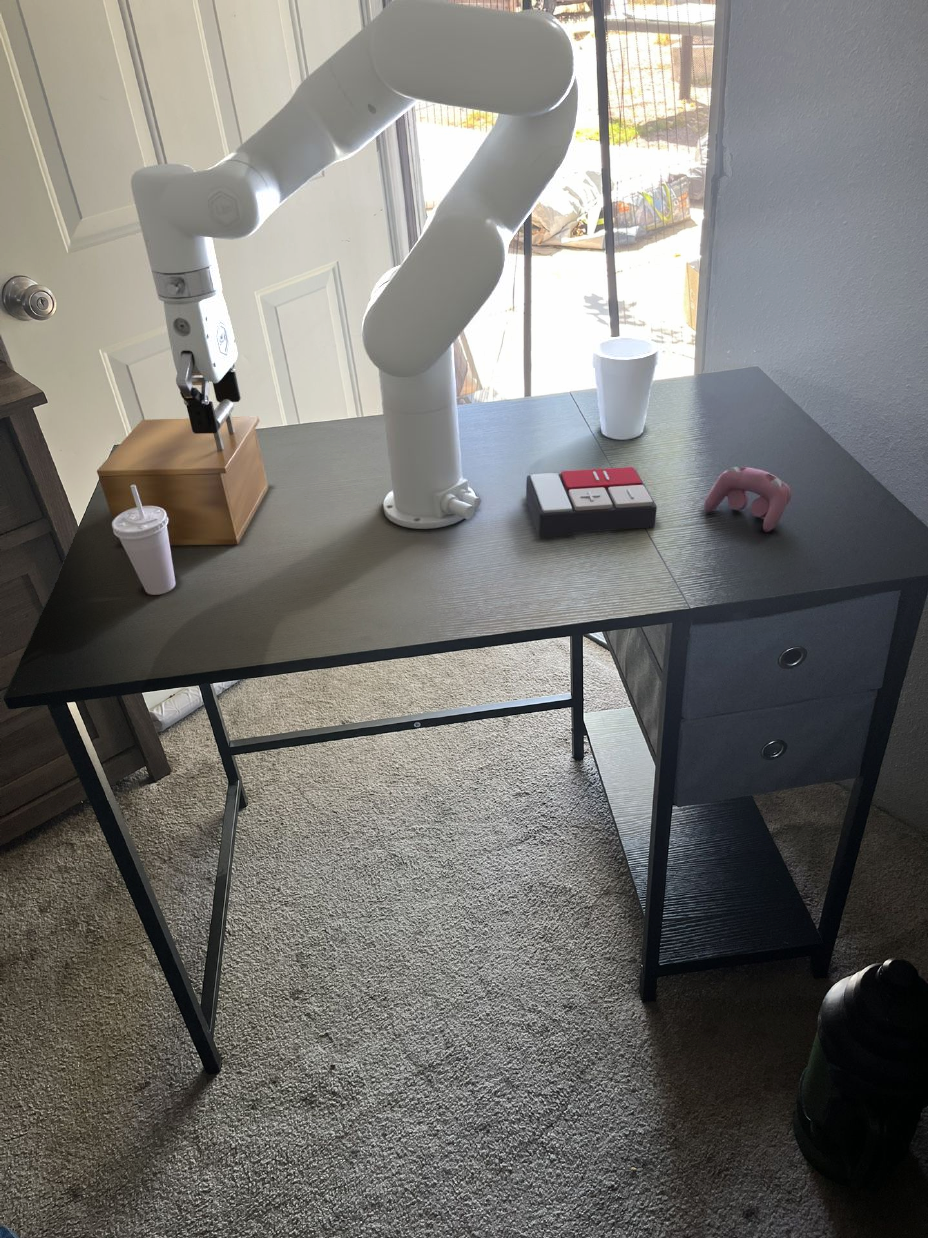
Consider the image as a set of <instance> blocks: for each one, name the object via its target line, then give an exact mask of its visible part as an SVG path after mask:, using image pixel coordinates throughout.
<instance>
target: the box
mask: <svg viewBox="0 0 928 1238" xmlns="http://www.w3.org/2000/svg"><path fill="white" fill-rule="evenodd" d="M98 480H99V482H100V485H101V488H102V491H103V494H104V495H103V496H104V498H105V500H106V504H107V507H108V510H109V512H110V515H111V518H112V521H113V520H114V519H115V518H116V517H117V516H118V515H119V514H121V513H123V512H125V511H127V510H129V509H132V508H136V507H137V506H136V502H135V499H134V496H133V493H132V490H131V485H135V486H136V489H137V492H138V495H139V499H140V502H141V505H142V506H156V507H160V508H162V509H164V510H165V512H166V514H167V517H168V524H167V530H168V537H169V544H170V546H212V545H213V546H217V545H220V546H221V545H239V543H240V541H241V539H242V538H243V536H244V534H245V532H246V530H247V528H248V526H249V525H250V523H251V521H252V519H253V517H254V516H255V514H256V512H257V510H258V508H259V506H260V504H261V503H262V501H263V499H264V497H265V495H266V494H267V491H268V489H269V485H268V480H267V475H266V471H265V465H264V463H263V457H262V453H261V447H260V444H259V438H258V435H257V430H256V428H255V429H254V431H253V432H252V434H251V436H250V437H249V439H248V440H247V442H246V443H245V445H244V447H243V448H242V450H241V451H240V453H239V454H238V456H237V458H236V459H235V461H234V462H233V464H232V465H231V467H230V469H229V470H228V472H227V473H225V474H178V475H131V476H98ZM118 540H119V542H120V545H121V546H122V547H123V545H122V543H121V541H120V538H119V537H118Z"/></svg>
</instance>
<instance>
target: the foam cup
mask: <svg viewBox="0 0 928 1238" xmlns="http://www.w3.org/2000/svg"><path fill="white" fill-rule="evenodd" d="M591 357H592V358H591V360H592V361H591V362H592V363H591V364H592V368H593V370H594V377H595V385H596V386H595V387H596V394H597V405H598V413H599V421H600V422H599V423H600V428H601V434H602V435H603V436H605V437H606V438H610V439H613V440H630V439H635V438H637V437H639V436H641V435H642V433H643V432H644V428H645V423H646V419H647V413H648V408H649V403H650V398H651V392H652V388H653V381H654V377H655V372H656V368H657V366H658V360H659V359H658V358H659V347H658V344H657V343H656V342H655V341H653V340H651V339H649V338H644V337H640V336H639V337H638V336H616V337H608V338H605V339H602V340H599V341H597V342H596V343H595V344H594V345H592V356H591Z"/></svg>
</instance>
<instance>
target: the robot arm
mask: <svg viewBox="0 0 928 1238" xmlns="http://www.w3.org/2000/svg"><path fill="white" fill-rule="evenodd" d="M578 73H579V72H578V69H577V56H576V50H575V46H574V43H573V41H572V38H571V36H570V35H569V33H568V31H567V30H566V27H564V25H563V24H562V22H560V21H559V20H558V19H557V17H555V16H554V15H553V14H551V13H549V12H548V11H545V10H542V9H536V8H529V9H523V10H520V11H512V10H503V9H496V8H489V7H482V6H476V5H469V4H464V3H459V2H453V1H449V0H390V1H389V2H388V3H387V4H386V5H385V6H384V8H383V9H382V10H381V11H380V12H379V14H378V15H376V16H375V17H374V18H373V19H372V20H371V21H370V22H369V23H367V24H366V25H365V26H364V27H363V28H362V29H361V30H359V31H358V32H357V33H356V34H355V35H354V36H352V37H351V38H350V39H349V40H348V41H347V42H346V43H345V44H344V45H342V46H341V47H340V48H339V49H338V50H337V51H336V52H335V53H333V54H332V55H331V56H330V57H328V58H327V59H326V60H325V61H324V62H323V63H322V64H320V65H319V66H318V67H317V68H315V70H313V72H311V73H310V74H309V75H308V76H307V77H306V78H305V79H304V80H303V81H302V82H301V83H300V84H299V86H298V87H297V88H296V90H295V91H294V93H293V94H292V96H291V98H290V99H289V101H287V103H286V104H285V105H284V106H283V107H282V108H281V109H280V110H279V111H278V112H277V113H275V115H274V116H273V117H272V118H271V119H269V120H268V121H267V122H266V123H265V124H263V125H262V127H260V128H259V129H257V131H256V132H254V134H252V135H251V136H250V137H248V139H246V140H245V141H244V142H243V143H242V144H241V145H240V146H238V147H237V148H236V149H235V150H234V151H232V152H231V153H230V154H229V155H227V156H226V157H224V158H223V159H222V160H220V161H219V162H218V163H217V164H215V165H213V166H210V167H208V168H206V169H202V170H197V171H196V170H195V169H194V168H193V167H192V166H190V165H188V164H183V163H160V164H153V165H149V166H145V167H141V168H139V169H138V170H136V171H134V173H133V174H132V176H131V178H130V187H131V192H132V197H133V200H134V205H135V209H136V213H137V217H138V221H139V225H140V229H141V233H142V237H143V242H144V245H145V250H146V254H147V258H148V262H149V266H150V270H151V275H152V279H153V283H154V287H155V290H156V295H157V299H158V300H159V301H161V302H163V309H164V316H165V317H164V318H165V322H166V323H165V324H166V327H167V328H166V329H167V335H168V341H169V345H170V351H171V355H172V359H173V363H174V367H175V371H176V377H175V383H176V385H177V387H178V389H179V394H180V396H181V398H182V399H183V404H184V405H185V406H186V410H187V414H188V419H190V423H191V427H192V431H193V432H194V433H195V434H206V433H217V431H218V425H217V420H216V416H215V411H214V410H215V407H214V403H213V401H210V382H211V383H212V386H213V391H214V392H213V393H214V395H215V400H216V402H218V403H220V402H221V401H222V400H224V399H228V400H230V401H231V402H232V403H239V402H240V401H241V399H242V398H241V393H240V392H241V391H240V388H239V383H238V377H237V374H236V364H235V363H236V361H237V360H238V357H239V356H238V355H239V354H238V347H237V343H236V339H235V335H234V330H233V327H232V323H231V319H230V315H229V312H228V308H227V304H226V301H225V298H224V295H223V292H222V291H223V287H222V282H221V278H220V273H219V267H218V262H217V257H216V252H215V247H214V242H213V239H217V240H226V241H233V240H234V241H236V240H237V241H238V240H242V239H246V238H248V237H250V236H251V235H252V234H254V233H255V232H256V231H257V230H258V229H259V228H260V227H261V226H262V225H263V223H264V222H265V220H266V219H267V218H268V217H269V216H270V215H271V214H272V213H273V212H275V211H276V209H277V208H279V206H281V205H282V204H283V203H284V202H285V201H286V200H288V199H289V198H290V197H292V196H293V195H294V194H295V193H297V191H299V190H300V189H301V188H302V187H304V186H305V185H306V184H308V182H309V181H310V180H312V179H313V178H314V177H316V176H317V175H319V174H320V173H321V172H323V171H324V170H325V169H327V168H328V167H330V166H332V165H333V164H335V163H338V162H340V161H343V160H347V159H348V158H351V157H352V156H354V155H355V154H356V153H358V152H359V151H360V150H362V149H363V148H364V147H365V146H366V145H367V144H369V143H370V142H371V141H373V139H375V138H376V137H377V136H379V135H380V134H381V133H382V132H383V131H384V130H385V129H387V128H388V127H390V125H392V124H393V123H394V122H396V121H397V120H398V119H399V118H400V117H402V116H403V115H404V114H405V113H407V112H408V111H409V110H410V109H411V108H413V107H414V106H415V105H416V104H418V103H419V102H420V101H421V102H426V103H429V104H435V105H439V106H440V105H442V106H446V107H451V108H452V107H453V108H460V109H467V110H473V111H480V112H486V113H491V114H498V115H497V117H496V119H495V122H494V125H493V126H492V128H491V130H490V131H489V133H488V134H487V136H486V137H485V139H484V141H483V142H482V143H481V145H480V146H479V148H477V151H476V152H475V154H474V156H473V157H472V159H471V160H470V162H469V163H468V164H467V166H466V167H465V168H464V170H463V171H462V173H461V174H460V175H459V176H458V178H457V179H456V181H455V182H454V183H453V185H452V186H451V187H450V189H449V190H448V191H447V192H446V193H445V195H444V196H443V197H442V198H441V199H440V200H439V201H438V203H436V205H435V206H434V207H433V208H432V210H431V212H430V213H429V215H428V217H427V219H426V222H425V224H424V227H423V231H422V233H421V235H420V236H419V238H418V239H417V241H416V242H415V244H414V245H413V247H412V248H411V250H410V252H409V253H408V254H407V255H406V256H405V258H404V260H403V261H402V263H401V264H400V265H397V266H395V267H392V268H391V269H389V270H388V271H387V272H386V273H384V274H383V275H382V276H381V278H379V280H378V282H377V283H376V284H375V286H374V288H373V290H372V292H371V295H370V298H369V301H368V303H367V307H366V310H365V312H364V315H363V319H362V323H361V340H362V345H363V348H364V351H365V353H366V355H367V357H368V358H369V360H370V362H371V363H372V364H373V366H375V367H376V368H377V372H378V381H379V382H378V383H379V391H380V400H381V407H382V416H383V424H384V432H385V439H386V448H387V456H388V461H389V462H388V463H389V471H390V480H391V487H392V490H391V491H389V492H388V493H387V494H386V495H385V497H384V499H383V503H382V506H383V513H384V515H385V517H386V518H387V519H388V520H389V521H391V522H392V523H394V524H395V525H398V526H401V527H404V528H408V529H416V530H429V529H430V530H433V529H439V528H445V527H447V526H451V525H454V524H456V523H458V522H461V521H462V520H464V519H465V520H467V521H470V520H472V519H473V518H474V516H475V514H476V508H478V507H480V505H481V501H482V500H481V498H480V497H479V496H476V494H475V491H474V490H473V489H472V488H471V487H470V486H469V482H468V479H466V478H464V477H463V467H462V454H461V442H460V425H459V414H458V402H457V383H456V370H455V356H454V355H455V354H454V353H455V352H454V343H455V342H456V340H457V339H458V338H459V337H460V336H461V334H462V333H463V332H464V330H465V329H466V328H467V326H468V325H469V324H470V323H471V321H473V319H474V318H475V316H476V315H477V314H478V313H479V312H480V310H481V308H483V306H484V305H485V304H486V302H487V301H488V300H489V298H490V297H491V296H492V294H493V293H494V291H495V290H496V288H497V286H498V285H499V283H500V281H501V279H502V278H503V275H504V273H505V270H506V268H507V262H508V255H509V245H510V242H511V241H512V240H513V238H514V236H515V235H516V233H517V232H518V231H519V229H520V227H521V226H522V225H523V223H525V221H526V219H527V218H528V217H529V215H531V213H532V211H533V210H534V209H535V207H536V206H537V205H538V203H539V201H540V200H541V198H542V197H543V196H544V195H545V193H546V192H547V190H548V189H549V188H550V186H551V185H552V183H553V182H554V180H555V179H556V177H557V176H558V174H559V172H560V171H561V169H562V167H563V165H564V164H565V162H566V159H567V157H568V155H569V153H570V152H571V151H570V150H571V149H572V148H571V147H572V145H573V142H574V139H575V136H576V131H577V126H578V121H579V112H580V99H581V90H580V80H579V74H578ZM195 376H198V377H195ZM199 376H201V377H199ZM194 386H201V387H200V390H201V391H199V389H198V388H197V387H194Z"/></svg>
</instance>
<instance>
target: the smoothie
mask: <svg viewBox="0 0 928 1238" xmlns="http://www.w3.org/2000/svg"><path fill="white" fill-rule="evenodd" d="M131 490H132V493H133V496H134V499H135V502H136V506H137V507H136V508H132V509H129V510H127V511H125V512H123V513H121V514H119V515H118V516H117V517H116V518H115V519H114V520H113V519H112V522H111V527H112V532H113V534H114V535H115V536H116V537H117V538H118V539H119V538H120V540H119V542H120V541H121V542H120V544H121V543H122V545H123V546H122V545H121V546H122V547H123V549H124V551H125V552H126V554H127V557H128V558H129V561H130V563H131V564H132V567H133V569H134V571H135V573H136V576H137V577H138V579H139V581H140V583H141V585H142V587H143V589H144V590H145V593H147V594H148V595H153V596H156V595H163V594H166V593H168V592H170V591H172V590H173V589H174V588H175V587H176V577H175V571H174V564H173V558H172V551H171V545H170V544H169V537H168V530H167V524H168V517H167V514H166V512H165V510H164V509H162V508H160V507H156V506H142V505H141V502H140V499H139V495H138V492H137V489H136V486H135V485H131Z"/></svg>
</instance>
